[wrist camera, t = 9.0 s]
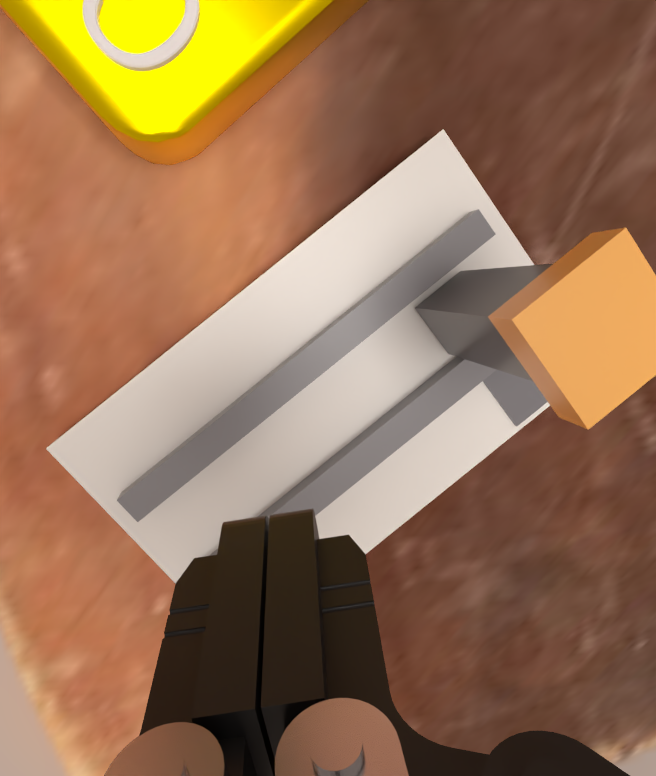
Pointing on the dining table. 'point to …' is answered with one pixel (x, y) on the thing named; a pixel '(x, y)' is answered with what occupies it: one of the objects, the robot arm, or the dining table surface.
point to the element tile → (175, 60)
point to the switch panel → (316, 382)
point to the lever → (558, 324)
